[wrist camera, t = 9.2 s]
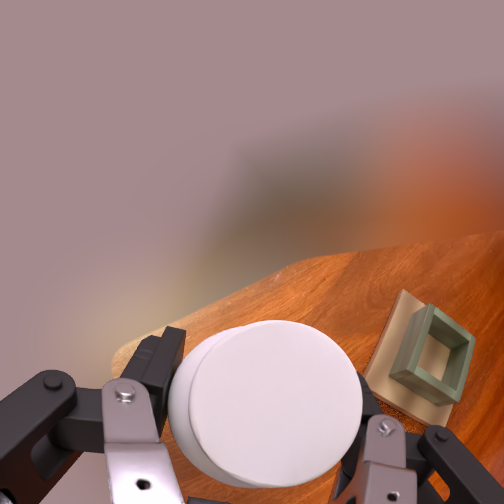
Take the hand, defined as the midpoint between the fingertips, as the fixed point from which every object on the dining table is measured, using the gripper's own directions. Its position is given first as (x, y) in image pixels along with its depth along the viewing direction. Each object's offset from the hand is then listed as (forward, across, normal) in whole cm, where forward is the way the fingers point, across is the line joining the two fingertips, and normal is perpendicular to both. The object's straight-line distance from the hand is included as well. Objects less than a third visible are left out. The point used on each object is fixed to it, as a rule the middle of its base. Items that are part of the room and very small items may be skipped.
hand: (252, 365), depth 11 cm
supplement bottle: (+2, 0, +5) cm, 5 cm away
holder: (+16, -22, +8) cm, 28 cm away
